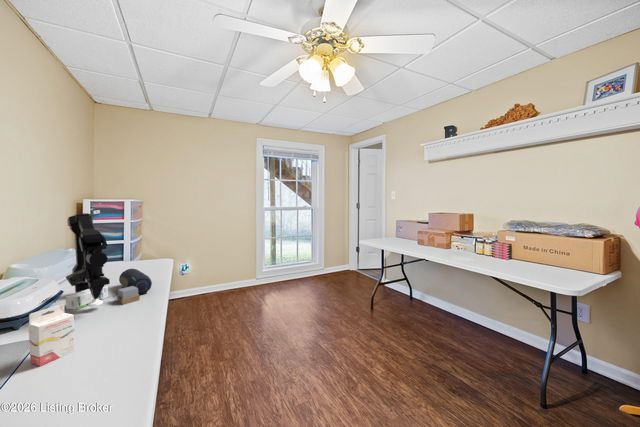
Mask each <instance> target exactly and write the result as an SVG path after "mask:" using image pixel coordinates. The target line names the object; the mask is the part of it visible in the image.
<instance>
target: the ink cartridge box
mask: <svg viewBox="0 0 640 427" xmlns="http://www.w3.org/2000/svg"><path fill="white" fill-rule="evenodd" d="M65 307H66V304H63V303H62V304H59V305H55V306H52V307H48V308H44V309H42V310H38V311H35V312H31V313H29V315H28V322H29V323H28V338H29V340H28V341H29V356H30V357H29V359H30V364H33V365H36V366H38V367H42V366H43V365H47V364H48V363H51V362H53V361H56V360H57V359H60V358H62V357H64V356H66V355H69V354H71V353H74V352H75V351H76V332H75V315H74V314H71V313H66V312H65ZM47 312H50V313H48V314H46V313H47Z"/></svg>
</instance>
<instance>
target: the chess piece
mask: <svg viewBox="0 0 640 427" xmlns="http://www.w3.org/2000/svg"><path fill="white" fill-rule="evenodd" d="M103 303H104V300H99V299H98V298H97V299H94V297H93V300H92V302H90V303H88V306H87V307H96V306H99V305H102V304H103Z"/></svg>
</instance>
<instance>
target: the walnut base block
mask: <svg viewBox="0 0 640 427" xmlns="http://www.w3.org/2000/svg"><path fill="white" fill-rule="evenodd" d="M140 300H141V298H140V295H139V294H138V295H135V296H131V297H127V298H121V297H120V296H118V295H117V302H118V303H119V304H121V305H122V306H124V305H128V304H132V303H134V302H135V303H136V302H138V301H140Z"/></svg>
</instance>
